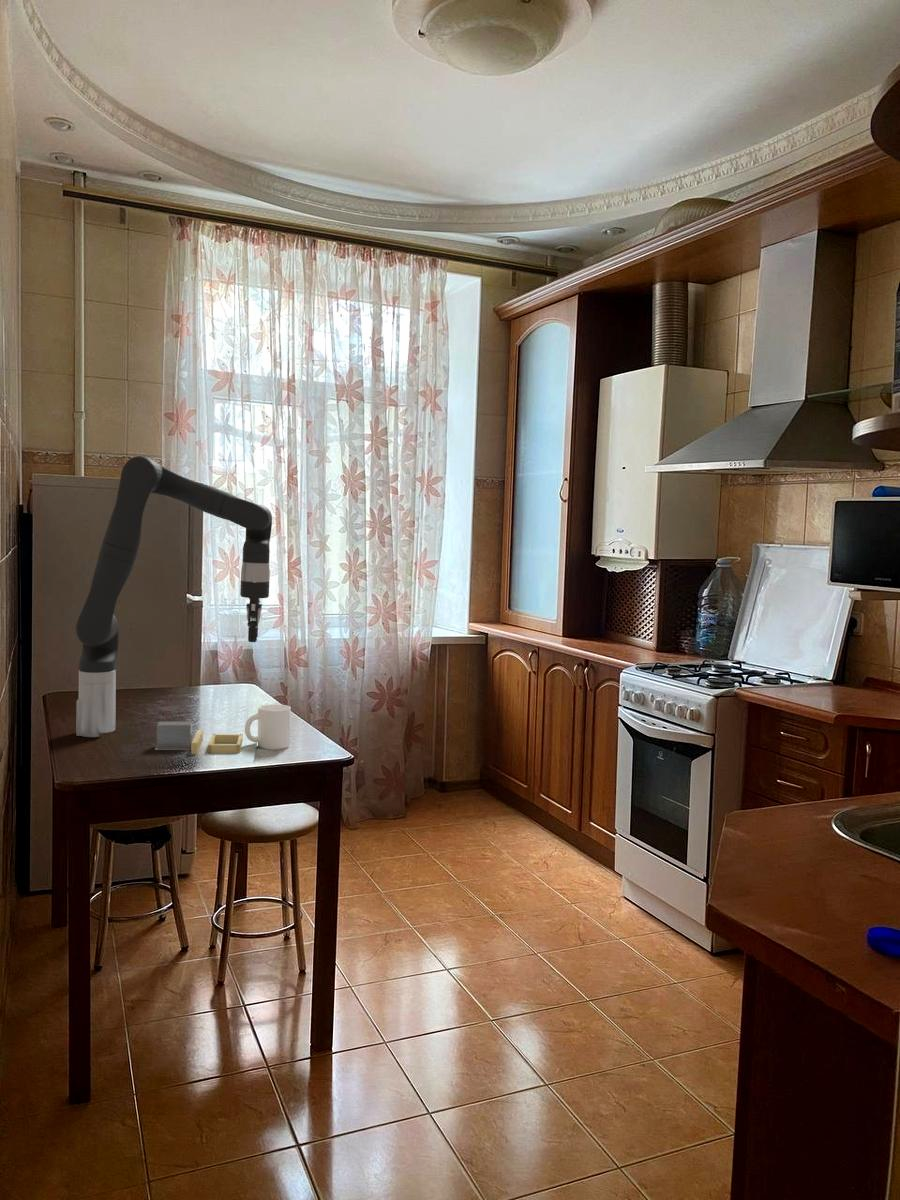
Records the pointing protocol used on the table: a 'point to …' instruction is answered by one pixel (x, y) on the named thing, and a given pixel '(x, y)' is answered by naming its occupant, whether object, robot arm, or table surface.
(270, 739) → the mug
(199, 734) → the white fixture board
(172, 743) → the block
